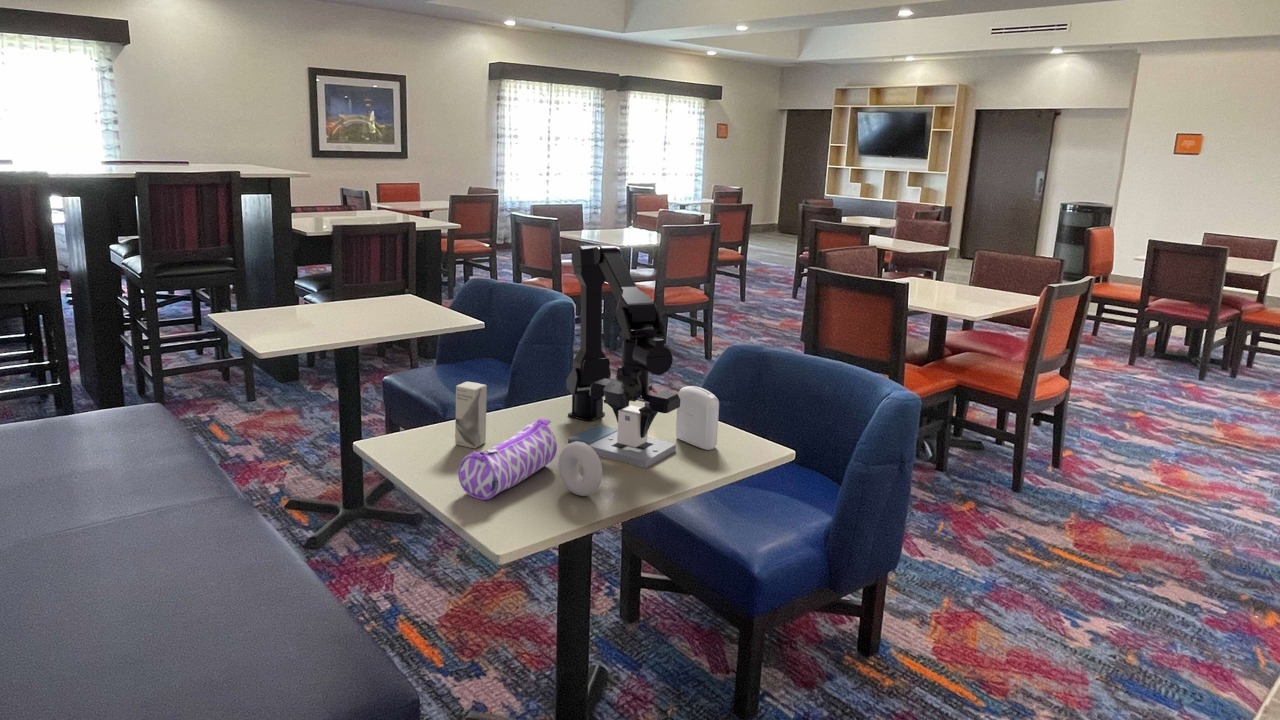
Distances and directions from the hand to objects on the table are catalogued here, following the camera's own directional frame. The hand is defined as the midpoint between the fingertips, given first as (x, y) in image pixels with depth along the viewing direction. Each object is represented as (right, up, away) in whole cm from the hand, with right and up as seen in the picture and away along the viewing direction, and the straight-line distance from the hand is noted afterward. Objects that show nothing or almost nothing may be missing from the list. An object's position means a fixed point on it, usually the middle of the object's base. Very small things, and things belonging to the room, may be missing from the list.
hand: (632, 434), depth 171 cm
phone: (-8, -1, +8) cm, 12 cm away
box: (-34, -2, +1) cm, 34 cm away
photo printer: (+14, -3, +8) cm, 16 cm away
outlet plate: (0, -4, +1) cm, 4 cm away
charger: (0, -1, 0) cm, 2 cm away
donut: (-9, -9, -21) cm, 25 cm away
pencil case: (-23, -7, -16) cm, 29 cm away
